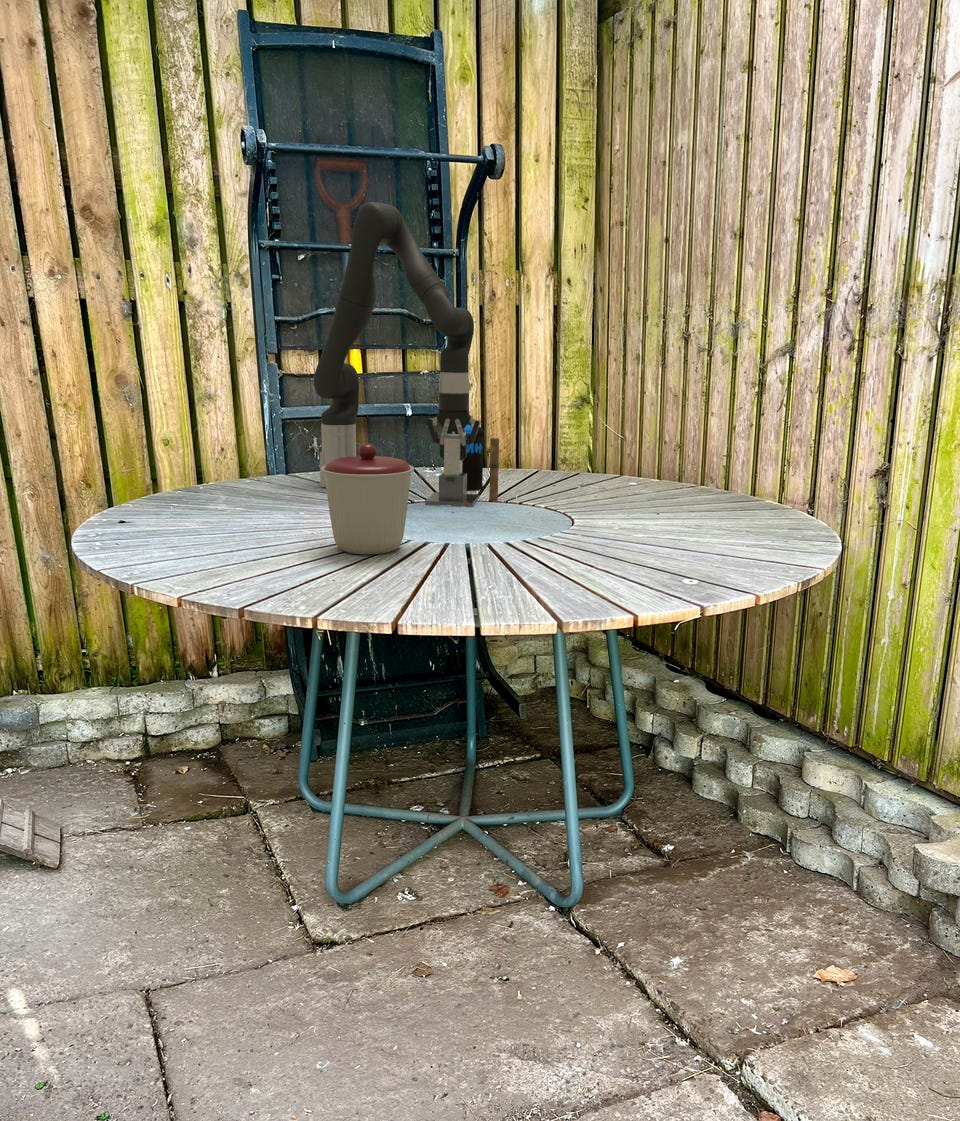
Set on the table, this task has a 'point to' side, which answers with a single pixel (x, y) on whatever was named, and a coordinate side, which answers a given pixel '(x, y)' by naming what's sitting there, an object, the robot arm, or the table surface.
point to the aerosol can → (474, 460)
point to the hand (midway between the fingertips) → (453, 459)
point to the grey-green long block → (452, 455)
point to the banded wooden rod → (494, 469)
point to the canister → (367, 501)
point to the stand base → (452, 492)
